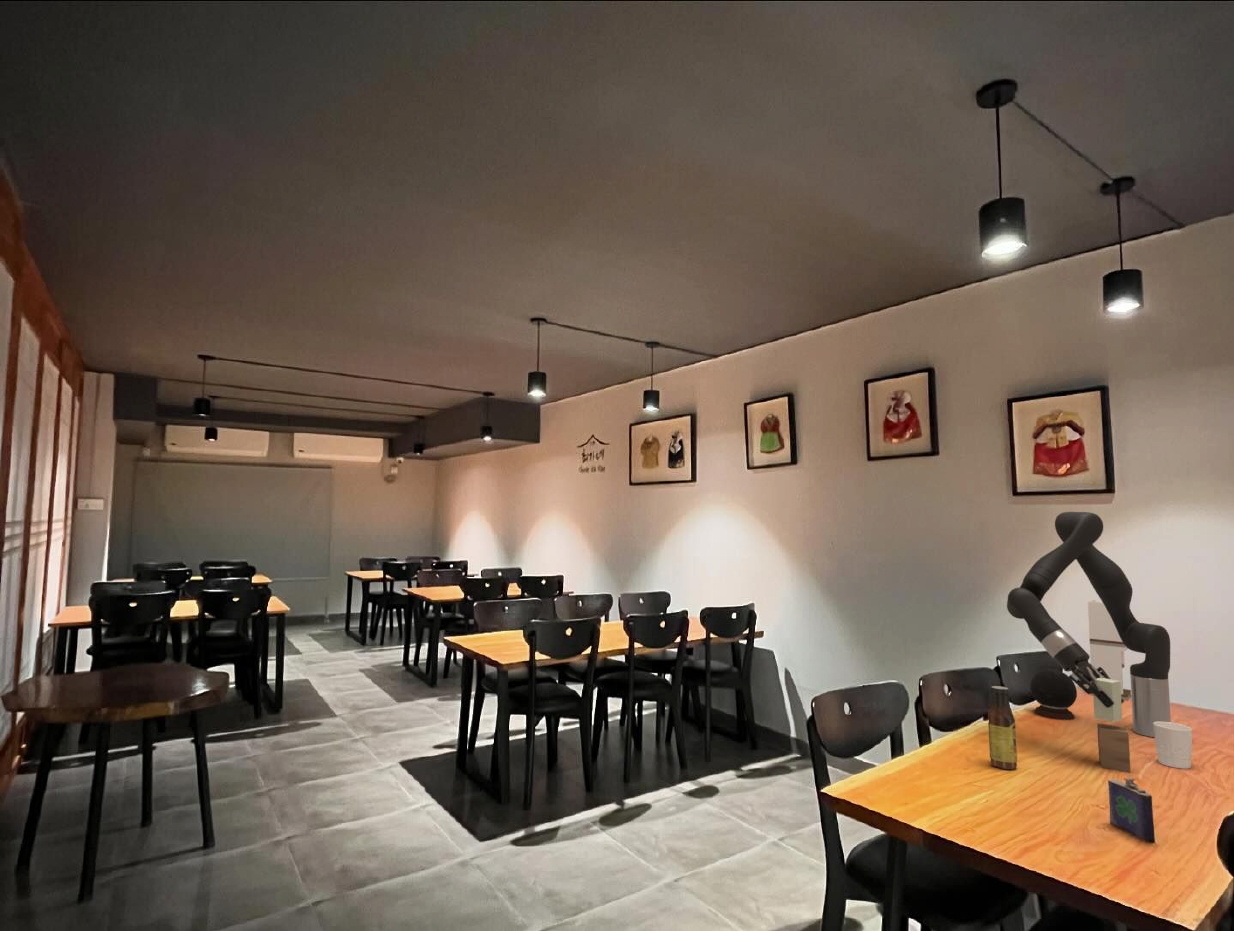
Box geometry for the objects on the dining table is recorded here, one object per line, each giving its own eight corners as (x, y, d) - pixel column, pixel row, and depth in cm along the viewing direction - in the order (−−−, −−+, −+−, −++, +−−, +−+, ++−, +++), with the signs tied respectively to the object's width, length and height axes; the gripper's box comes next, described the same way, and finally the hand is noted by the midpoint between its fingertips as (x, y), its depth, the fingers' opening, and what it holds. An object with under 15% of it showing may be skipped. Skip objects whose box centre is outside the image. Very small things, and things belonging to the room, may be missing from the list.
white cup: (1201, 771, 172) (1198, 731, 173) (1166, 768, 173) (1164, 728, 174) (1182, 760, 180) (1179, 722, 180) (1148, 758, 181) (1146, 720, 182)
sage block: (1094, 717, 176) (1092, 679, 177) (1103, 715, 179) (1101, 677, 179) (1113, 722, 172) (1111, 682, 173) (1122, 720, 175) (1120, 681, 176)
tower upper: (1097, 742, 178) (1097, 723, 179) (1125, 746, 175) (1124, 726, 176) (1100, 748, 173) (1099, 728, 174) (1129, 752, 170) (1128, 732, 170)
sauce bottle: (1021, 771, 169) (1018, 691, 171) (994, 769, 170) (992, 689, 172) (1011, 763, 175) (1009, 685, 177) (985, 760, 176) (983, 684, 178)
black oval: (1071, 723, 214) (1069, 675, 215) (1025, 714, 223) (1024, 668, 225) (1082, 716, 222) (1080, 670, 224) (1037, 707, 232) (1036, 663, 233)
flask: (1106, 823, 140) (1104, 770, 141) (1119, 822, 140) (1116, 769, 141) (1147, 843, 130) (1144, 787, 131) (1160, 843, 131) (1157, 786, 132)
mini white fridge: (1127, 700, 244) (1122, 604, 248) (1092, 695, 252) (1087, 601, 255) (1130, 695, 253) (1126, 602, 256) (1096, 690, 260) (1092, 599, 263)
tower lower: (1098, 761, 178) (1098, 742, 178) (1127, 766, 175) (1126, 746, 175) (1101, 768, 173) (1100, 748, 173) (1130, 773, 170) (1129, 752, 170)
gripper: (1060, 643, 180) (1113, 700, 169) (1088, 640, 187) (1140, 694, 176) (1040, 660, 184) (1091, 716, 173) (1068, 656, 191) (1118, 709, 180)
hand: (1115, 704), depth 174 cm, fingers closed on sage block, 4 cm apart
